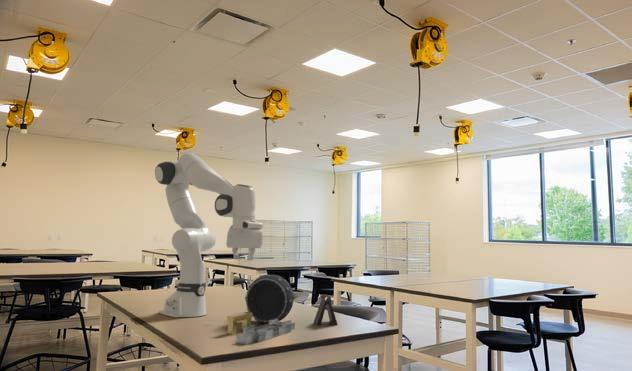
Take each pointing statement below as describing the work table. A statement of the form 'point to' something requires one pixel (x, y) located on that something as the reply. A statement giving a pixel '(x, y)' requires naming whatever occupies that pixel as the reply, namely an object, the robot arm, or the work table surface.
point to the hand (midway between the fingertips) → (243, 259)
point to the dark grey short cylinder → (269, 298)
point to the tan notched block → (233, 320)
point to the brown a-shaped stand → (322, 308)
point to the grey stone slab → (264, 331)
